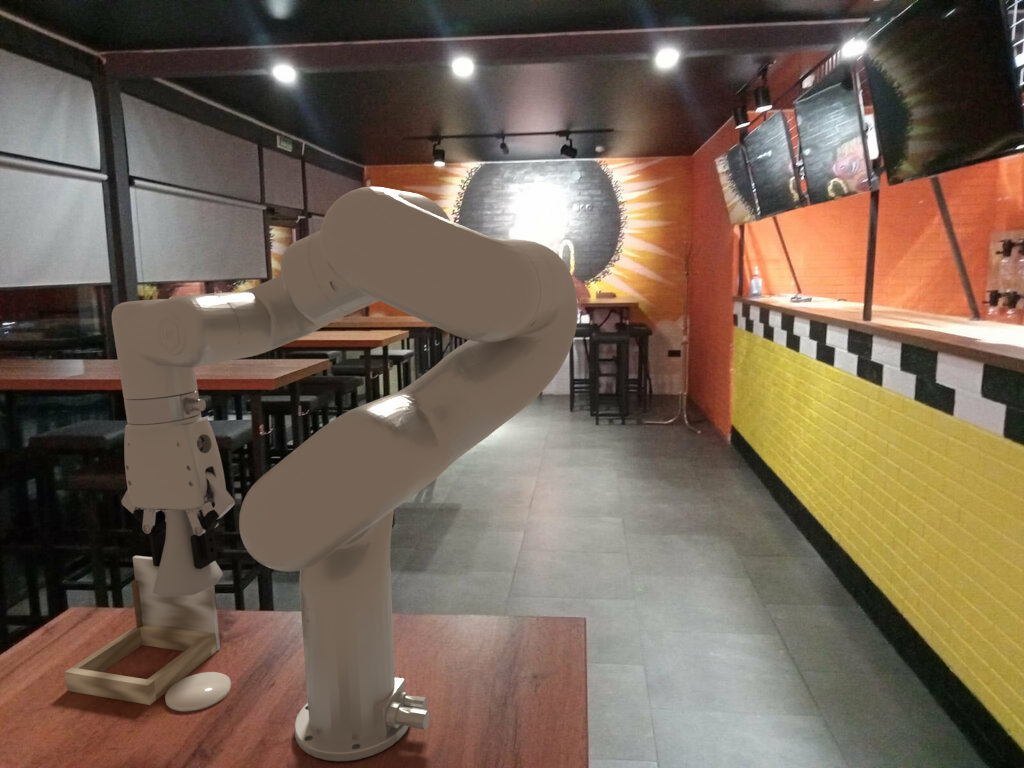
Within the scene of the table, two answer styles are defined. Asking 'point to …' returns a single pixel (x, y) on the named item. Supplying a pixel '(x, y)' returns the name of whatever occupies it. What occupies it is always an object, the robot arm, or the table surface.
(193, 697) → the white domed disc
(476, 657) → the table surface
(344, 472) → the robot arm
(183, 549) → the flask
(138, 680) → the open-lid wooden box
